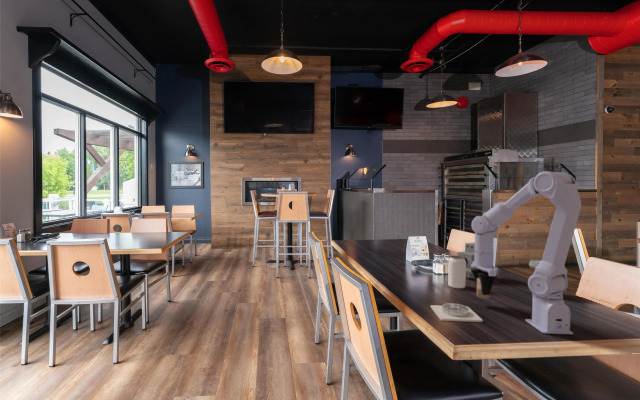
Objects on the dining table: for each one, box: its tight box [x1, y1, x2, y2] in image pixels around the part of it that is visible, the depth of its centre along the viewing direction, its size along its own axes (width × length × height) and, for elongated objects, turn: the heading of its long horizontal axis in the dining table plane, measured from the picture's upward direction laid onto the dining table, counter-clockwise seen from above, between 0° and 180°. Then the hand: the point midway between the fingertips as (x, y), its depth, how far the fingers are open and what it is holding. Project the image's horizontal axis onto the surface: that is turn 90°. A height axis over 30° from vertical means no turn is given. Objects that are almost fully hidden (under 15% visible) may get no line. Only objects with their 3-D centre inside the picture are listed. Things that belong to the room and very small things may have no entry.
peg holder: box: [430, 302, 483, 323], centre depth 108 cm, size 12×12×2 cm
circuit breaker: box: [457, 242, 475, 280], centre depth 154 cm, size 8×14×15 cm, turn 115°
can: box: [447, 255, 467, 290], centre depth 139 cm, size 6×6×12 cm
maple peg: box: [476, 278, 491, 300], centre depth 116 cm, size 4×4×6 cm
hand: (483, 292), depth 116 cm, fingers closed on maple peg, 4 cm apart
